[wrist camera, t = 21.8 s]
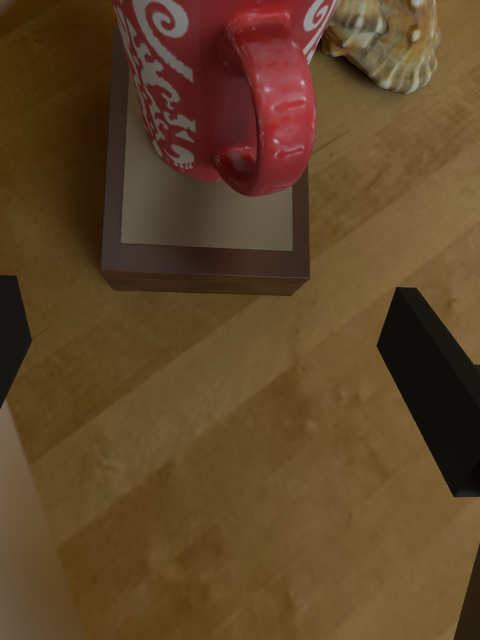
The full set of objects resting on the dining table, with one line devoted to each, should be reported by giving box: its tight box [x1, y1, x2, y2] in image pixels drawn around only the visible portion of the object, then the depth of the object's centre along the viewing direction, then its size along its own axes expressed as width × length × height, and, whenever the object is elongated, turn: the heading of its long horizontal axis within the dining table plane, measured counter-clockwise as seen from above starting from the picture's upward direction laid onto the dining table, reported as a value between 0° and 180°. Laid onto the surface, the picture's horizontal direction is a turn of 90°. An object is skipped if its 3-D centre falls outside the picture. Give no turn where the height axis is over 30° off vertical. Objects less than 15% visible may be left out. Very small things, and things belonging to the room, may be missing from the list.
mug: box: [111, 0, 338, 197], centre depth 18 cm, size 13×9×14 cm
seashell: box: [321, 0, 441, 94], centre depth 29 cm, size 9×8×10 cm
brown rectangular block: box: [100, 28, 310, 296], centre depth 27 cm, size 11×14×5 cm
